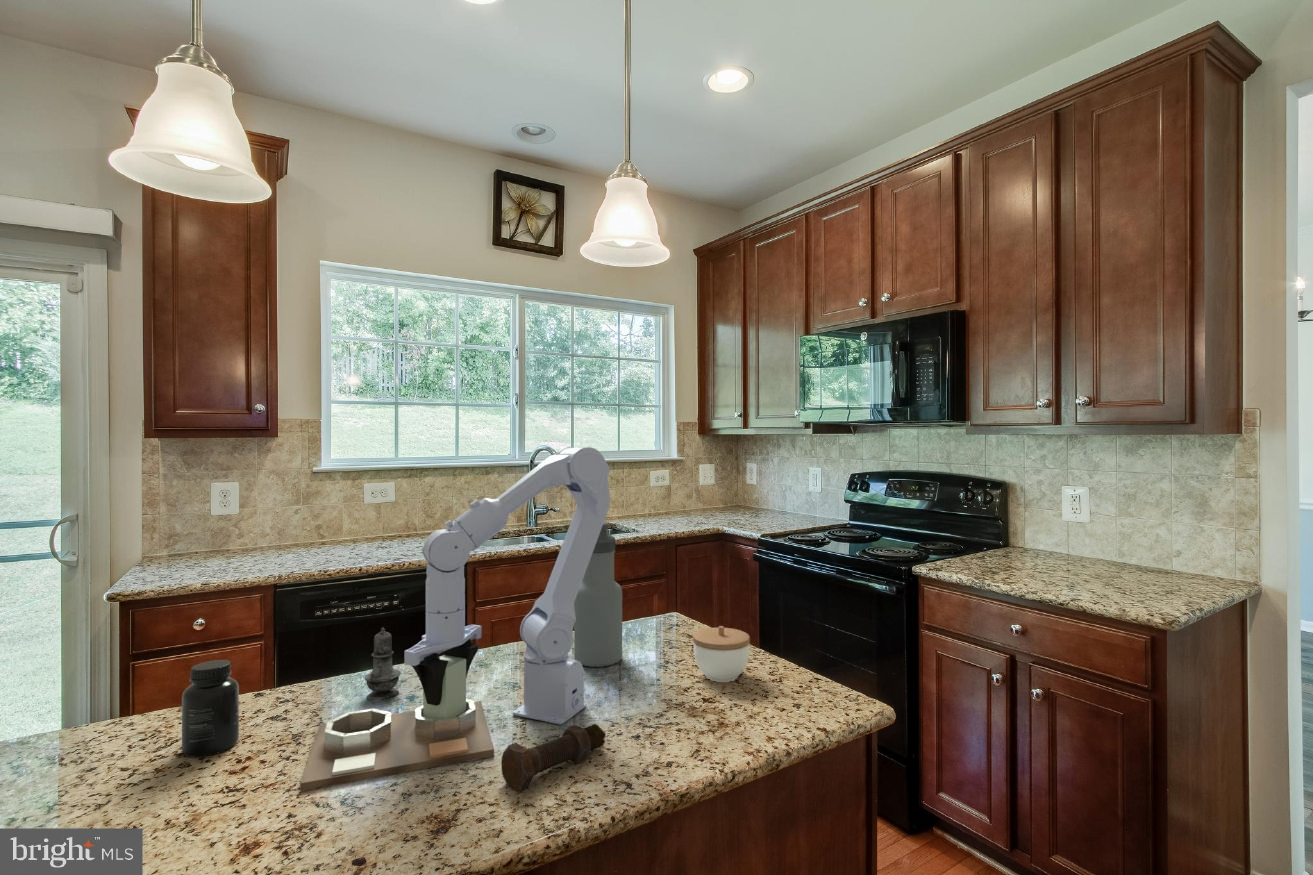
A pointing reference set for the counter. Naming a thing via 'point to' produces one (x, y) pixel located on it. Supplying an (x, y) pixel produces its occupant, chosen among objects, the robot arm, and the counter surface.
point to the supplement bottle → (210, 710)
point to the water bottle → (599, 608)
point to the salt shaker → (382, 670)
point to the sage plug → (449, 691)
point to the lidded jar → (721, 652)
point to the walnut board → (395, 752)
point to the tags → (369, 759)
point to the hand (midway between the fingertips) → (445, 697)
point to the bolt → (549, 754)
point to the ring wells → (389, 728)
